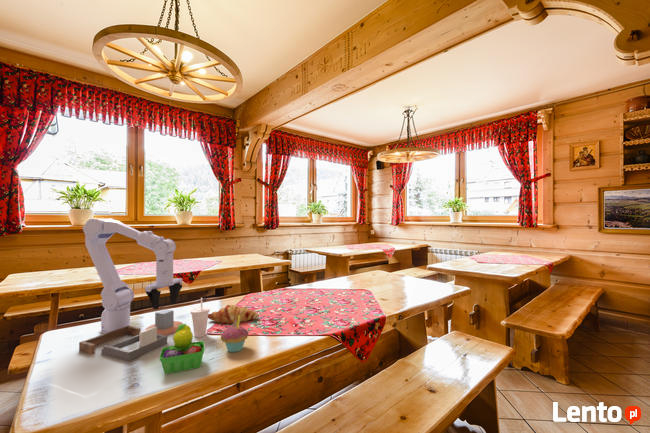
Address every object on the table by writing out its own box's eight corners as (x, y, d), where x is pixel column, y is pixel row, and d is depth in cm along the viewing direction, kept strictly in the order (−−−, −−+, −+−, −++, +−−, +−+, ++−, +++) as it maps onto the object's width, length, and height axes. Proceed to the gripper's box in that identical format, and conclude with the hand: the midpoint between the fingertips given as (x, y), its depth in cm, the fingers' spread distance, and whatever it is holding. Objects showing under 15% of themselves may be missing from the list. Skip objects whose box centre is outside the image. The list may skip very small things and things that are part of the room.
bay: (79, 351, 91) (79, 342, 91) (128, 333, 106) (128, 325, 106) (91, 355, 89) (91, 345, 89) (140, 335, 103) (140, 327, 103)
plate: (136, 334, 105) (136, 330, 105) (167, 322, 117) (167, 319, 117) (161, 339, 100) (161, 336, 100) (190, 326, 112) (190, 323, 112)
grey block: (155, 328, 108) (155, 312, 108) (165, 324, 112) (165, 309, 112) (163, 330, 106) (163, 314, 106) (173, 325, 110) (173, 310, 110)
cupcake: (253, 345, 95) (253, 309, 95) (237, 357, 87) (237, 318, 87) (231, 342, 98) (232, 307, 98) (215, 352, 90) (215, 315, 90)
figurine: (242, 335, 103) (241, 318, 104) (229, 337, 101) (228, 320, 102) (241, 332, 108) (240, 316, 109) (229, 334, 106) (228, 318, 107)
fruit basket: (158, 378, 76) (158, 336, 76) (162, 362, 84) (163, 324, 84) (204, 368, 80) (204, 329, 81) (204, 355, 89) (204, 319, 89)
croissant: (259, 324, 123) (260, 306, 127) (257, 321, 115) (258, 301, 119) (208, 326, 121) (211, 307, 124) (202, 323, 112) (205, 302, 116)
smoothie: (202, 340, 100) (202, 300, 100) (186, 338, 101) (186, 299, 101) (213, 333, 106) (213, 295, 106) (198, 331, 107) (198, 294, 107)
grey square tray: (101, 353, 89) (101, 331, 89) (141, 337, 101) (141, 318, 101) (128, 361, 84) (129, 337, 84) (167, 343, 96) (167, 322, 96)
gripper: (154, 274, 101) (154, 312, 101) (187, 268, 114) (187, 301, 114) (141, 273, 103) (140, 310, 103) (175, 267, 117) (175, 300, 117)
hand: (164, 305), depth 109 cm, fingers open, 7 cm apart
